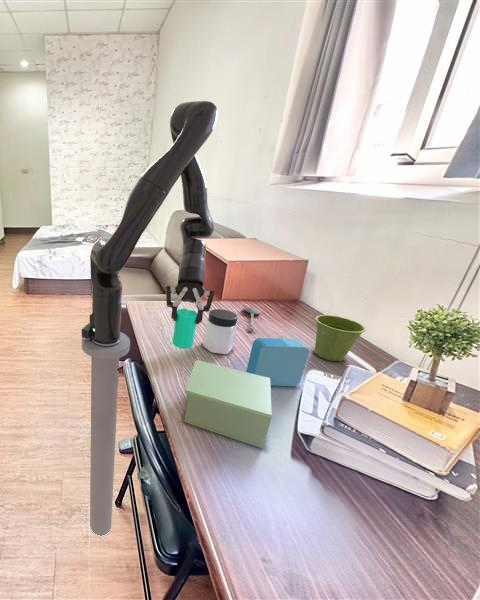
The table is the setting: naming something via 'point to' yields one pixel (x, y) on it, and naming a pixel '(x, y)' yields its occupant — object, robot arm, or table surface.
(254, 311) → the soupspoon
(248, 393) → the chest lid
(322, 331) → the plant pot
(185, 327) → the candle
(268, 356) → the data package
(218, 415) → the chest
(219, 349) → the jar
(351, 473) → the table surface
